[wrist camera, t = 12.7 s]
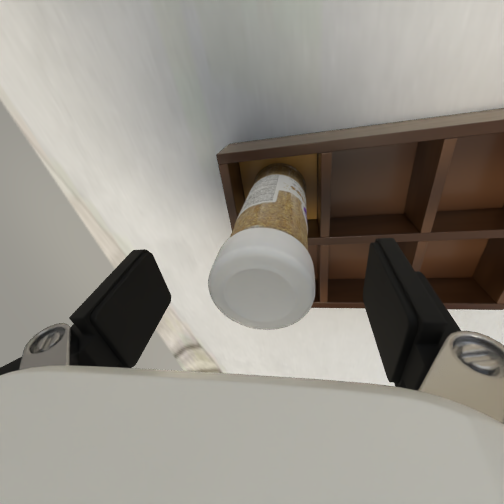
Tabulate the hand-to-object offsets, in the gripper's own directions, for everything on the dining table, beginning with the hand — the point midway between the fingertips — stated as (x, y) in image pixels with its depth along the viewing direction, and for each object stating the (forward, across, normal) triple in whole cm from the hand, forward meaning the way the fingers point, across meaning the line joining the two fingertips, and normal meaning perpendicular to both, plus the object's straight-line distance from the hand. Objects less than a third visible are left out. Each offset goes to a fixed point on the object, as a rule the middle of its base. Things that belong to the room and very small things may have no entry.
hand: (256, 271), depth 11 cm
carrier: (+13, -8, +4) cm, 16 cm away
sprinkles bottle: (+13, 0, +1) cm, 13 cm away
